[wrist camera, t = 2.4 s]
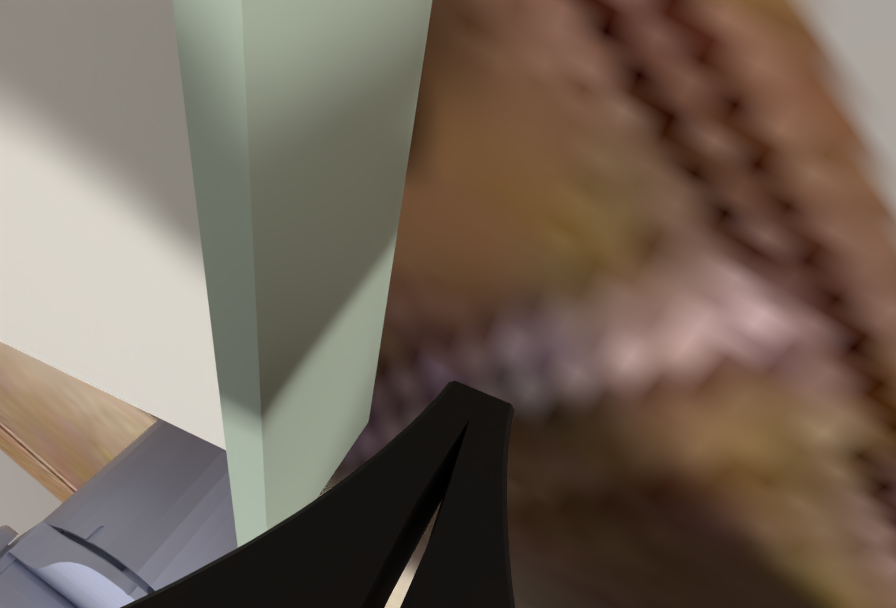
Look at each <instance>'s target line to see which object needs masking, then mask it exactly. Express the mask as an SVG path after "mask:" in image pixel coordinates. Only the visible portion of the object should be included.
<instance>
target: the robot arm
mask: <svg viewBox="0 0 896 608" xmlns="http://www.w3.org/2000/svg"><path fill="white" fill-rule="evenodd" d="M513 414H514V409H513V407H512V405H511V404H510V403H507V402H505V401H502V400H500V399H498V398H495V397H493V396H490V395H488V394H486V393H483V392H481V391H478V390H476V389H474V388H471V387H469V386H466V385H464V384H462V383H459V382H457V381H452V382H449V383H448V384H447V385H446V387H445V388H444V389H443V390H442V392H441V393H440V394H439V395H438V396H437V397H436V398H435V400H434V401H433V402H432V403H431V404H430V405H429V406H428V407H427V408H426V409H425V410H424V411H423V412H422V413H421V414H420V415H419V416H418V417H417V418H416V419H415V420H414V421H413V422H412V423H411V424H410V425H409V426H408V427H406V428H405V429H404V430H403V431H402V432H401V433H400V434H399V435H398V436H396V437H395V438H394V439H393V440H392V441H391V442H390V443H389V444H387V445H386V446H385V447H384V448H383V449H382V450H380V451H379V452H378V453H377V454H376V455H374V456H373V457H372V458H370V459H369V460H368V461H367V462H365V463H364V464H363V465H362V466H360V467H359V468H358V469H357V470H355V471H354V472H353V473H352V474H350V475H349V476H348V477H346V478H345V479H344V480H342V481H341V482H340V483H338V484H337V485H335V486H334V487H333V488H331V489H330V490H329V491H327V492H326V493H324V494H323V495H321V496H320V497H319V498H317V499H316V500H314V501H313V502H311V503H310V504H308V505H307V506H305V507H304V508H302V509H301V510H299V511H298V512H296V513H295V514H293V515H291V516H290V517H288V518H287V519H285V520H283V521H282V522H280V523H279V524H277V525H275V526H274V527H272V528H270V529H269V530H267V531H266V532H264V533H262V534H261V535H259V536H257V537H256V538H254V539H252V540H251V541H249V542H247V543H245V544H244V545H242V546H240V547H238V545H237V537H236V529H235V520H234V512H233V504H232V495H231V487H230V479H229V470H228V462H227V454H226V450H224V449H222V448H220V447H218V446H216V445H214V444H212V443H210V442H208V441H206V440H204V439H201V438H199V437H197V436H195V435H193V434H191V433H189V432H187V431H185V430H183V429H181V428H179V427H177V426H174V425H172V424H170V423H168V422H166V421H164V420H162V419H159V420H157V421H156V422H155V423H154V424H153V425H152V426H151V427H149V428H148V429H147V430H146V431H145V432H144V433H143V434H141V435H140V436H139V437H138V438H137V439H136V440H135V441H133V442H132V443H131V444H130V445H129V446H128V447H127V448H125V449H124V450H123V451H122V452H121V453H120V454H119V455H117V456H116V457H115V458H114V459H113V460H112V461H111V462H109V463H108V464H107V465H106V466H105V467H104V468H103V469H101V470H100V471H99V472H98V473H97V474H96V475H95V476H93V477H92V478H91V479H90V480H89V481H88V482H87V483H85V484H84V485H83V486H82V487H81V488H80V489H79V490H77V491H76V492H75V493H74V494H73V495H72V496H71V497H69V498H68V499H67V500H66V501H65V502H64V503H63V504H61V505H60V506H59V507H58V508H57V509H56V510H55V511H53V512H52V513H51V514H50V515H49V516H48V517H46V518H45V519H44V520H43V521H42V522H40V523H39V524H37V525H36V526H34V527H33V528H31V529H30V530H28V531H27V532H25V533H24V534H22V535H21V536H19V537H18V538H17V539H16V540H14V541H13V542H12V543H11V544H10V545H8V543H9V542H11V541H12V540H13V539H14V538H15V537H16V535H17V534H18V533H17V532H16V531H14V530H13V529H12V528H11V527H9V526H7V525H5V526H1V527H0V608H384V607H385V605H386V603H387V601H388V599H389V597H390V595H391V593H392V591H393V589H394V587H395V586H396V584H397V582H398V580H399V578H400V576H401V574H402V573H403V571H404V569H405V567H406V565H407V563H408V561H409V560H410V558H411V556H412V554H413V552H414V550H415V548H416V547H417V545H418V543H419V541H420V539H421V537H422V535H423V534H424V532H425V530H426V528H427V526H428V524H429V522H430V520H431V519H432V517H433V515H434V513H435V511H436V509H437V507H438V506H439V504H440V502H441V500H442V502H441V505H440V508H439V511H438V514H437V517H436V520H435V523H434V527H433V530H432V533H431V536H430V539H429V542H428V545H427V548H426V550H425V552H424V555H423V557H422V559H421V562H420V564H419V566H418V568H417V571H416V573H415V575H414V578H413V580H412V582H411V585H410V587H409V589H408V591H407V594H406V596H405V598H404V600H403V603H402V605H401V607H400V608H515V604H514V597H513V588H512V579H511V568H510V556H509V542H508V524H507V459H508V445H509V435H510V428H511V423H512V418H513ZM442 498H443V499H442Z"/></svg>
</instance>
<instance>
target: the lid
mask: <svg viewBox="0 0 896 608" xmlns="http://www.w3.org/2000/svg"><path fill="white" fill-rule="evenodd" d="M431 7H432V0H0V342H2V343H4V344H7V345H9V346H11V347H13V348H15V349H17V350H19V351H21V352H23V353H25V354H27V355H29V356H31V357H34V358H36V359H38V360H40V361H42V362H44V363H46V364H48V365H50V366H52V367H54V368H56V369H58V370H60V371H63V372H65V373H67V374H69V375H71V376H73V377H75V378H77V379H79V380H81V381H83V382H85V383H87V384H89V385H92V386H94V387H96V388H98V389H100V390H102V391H104V392H106V393H108V394H110V395H112V396H114V397H116V398H119V399H121V400H123V401H125V402H127V403H129V404H131V405H133V406H135V407H137V408H139V409H141V410H143V411H145V412H148V413H150V414H152V415H154V416H156V417H158V418H160V419H162V420H164V421H166V422H168V423H170V424H172V425H174V426H177V427H179V428H181V429H183V430H185V431H187V432H189V433H191V434H193V435H195V436H197V437H199V438H201V439H204V440H206V441H208V442H210V443H212V444H214V445H216V446H218V447H220V448H222V449H224V450H226V454H227V462H228V470H229V479H230V487H231V495H232V504H233V512H234V520H235V529H236V537H237V545H238V547H240V546H242V545H244V544H245V543H247V542H249V541H251V540H252V539H254V538H256V537H257V536H259V535H261V534H262V533H264V532H266V531H267V530H269V529H270V528H272V527H274V526H275V525H277V524H279V523H280V522H282V521H283V520H285V519H287V518H288V517H290V516H291V515H293V514H295V513H296V512H298V511H299V510H301V509H302V508H304V507H305V506H307V505H308V504H310V503H311V502H313V501H314V500H316V499H317V498H318V496H319V495H320V493H321V492H322V490H323V489H324V487H325V486H326V484H327V483H328V481H329V480H330V478H331V477H332V475H333V474H334V472H335V471H336V469H337V468H338V466H339V465H340V463H341V462H342V460H343V459H344V457H345V456H346V454H347V453H348V451H349V450H350V449H351V447H352V446H353V444H354V443H355V441H356V440H357V438H358V437H359V435H360V434H361V432H362V431H363V429H364V428H365V426H366V425H367V423H368V422H369V416H370V409H371V403H372V396H373V390H374V383H375V376H376V370H377V363H378V357H379V350H380V343H381V337H382V330H383V324H384V317H385V310H386V304H387V297H388V291H389V284H390V277H391V271H392V264H393V258H394V251H395V244H396V238H397V231H398V225H399V218H400V211H401V205H402V198H403V192H404V185H405V178H406V172H407V165H408V159H409V152H410V146H411V139H412V132H413V126H414V119H415V113H416V106H417V99H418V93H419V86H420V80H421V73H422V66H423V60H424V53H425V47H426V40H427V33H428V27H429V20H430V14H431Z"/></svg>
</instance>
